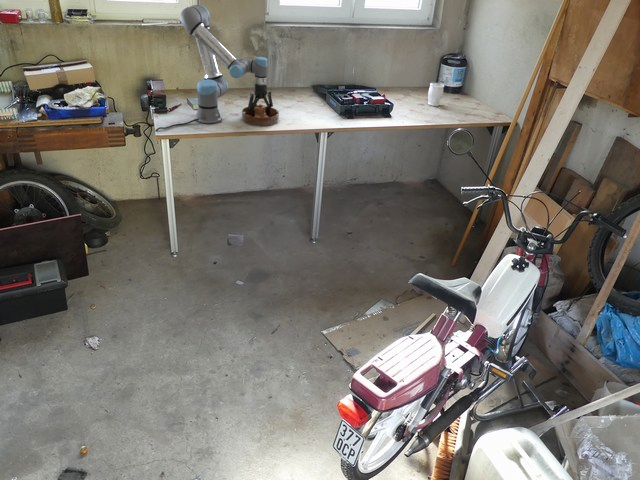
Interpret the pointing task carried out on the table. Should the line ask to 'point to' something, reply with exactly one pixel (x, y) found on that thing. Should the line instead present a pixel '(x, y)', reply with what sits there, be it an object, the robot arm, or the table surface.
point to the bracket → (260, 111)
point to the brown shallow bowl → (260, 118)
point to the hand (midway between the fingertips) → (260, 118)
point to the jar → (435, 93)
